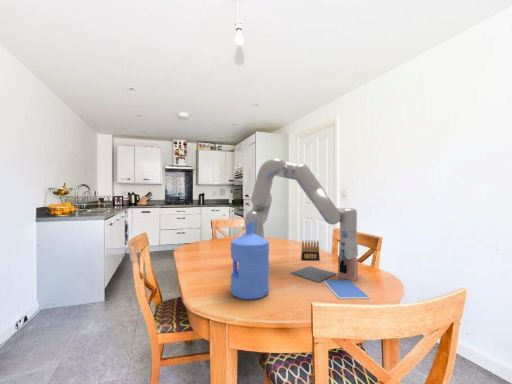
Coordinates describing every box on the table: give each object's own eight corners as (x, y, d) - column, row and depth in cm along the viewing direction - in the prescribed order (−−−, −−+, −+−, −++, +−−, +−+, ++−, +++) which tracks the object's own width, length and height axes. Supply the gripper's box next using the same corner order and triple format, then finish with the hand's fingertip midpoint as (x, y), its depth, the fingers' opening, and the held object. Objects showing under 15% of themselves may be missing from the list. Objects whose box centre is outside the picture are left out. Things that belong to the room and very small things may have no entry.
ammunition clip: (318, 259, 150) (318, 239, 149) (319, 260, 148) (319, 240, 148) (301, 259, 150) (301, 239, 149) (301, 260, 148) (301, 240, 148)
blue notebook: (322, 282, 114) (322, 279, 114) (349, 282, 115) (349, 279, 115) (338, 301, 95) (338, 297, 95) (370, 300, 95) (370, 297, 95)
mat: (318, 282, 112) (318, 281, 112) (290, 273, 124) (290, 272, 124) (336, 274, 123) (336, 273, 123) (309, 267, 135) (309, 266, 135)
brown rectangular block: (354, 281, 114) (354, 259, 114) (338, 276, 120) (338, 256, 120) (357, 279, 116) (357, 258, 116) (341, 275, 122) (341, 255, 122)
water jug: (271, 286, 107) (272, 221, 107) (264, 302, 92) (265, 227, 92) (237, 283, 111) (237, 220, 110) (224, 298, 95) (225, 225, 95)
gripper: (346, 237, 109) (346, 277, 109) (364, 233, 121) (363, 268, 121) (331, 235, 115) (331, 272, 115) (349, 231, 127) (349, 265, 127)
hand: (347, 270), depth 118 cm, fingers open, 8 cm apart
